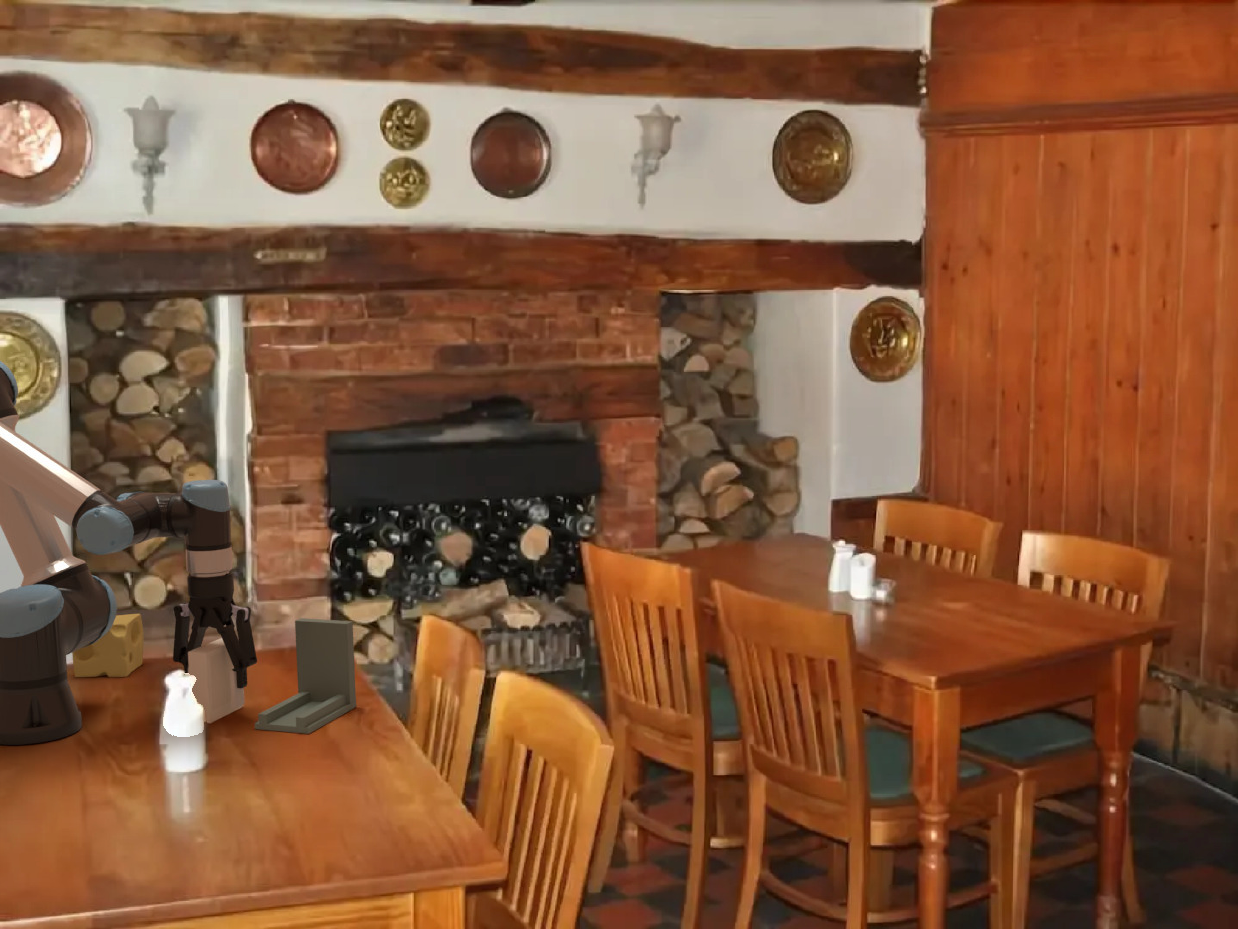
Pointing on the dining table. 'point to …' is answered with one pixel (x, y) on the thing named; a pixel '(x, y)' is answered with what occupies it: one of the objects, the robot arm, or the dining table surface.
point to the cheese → (113, 650)
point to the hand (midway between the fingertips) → (217, 704)
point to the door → (212, 679)
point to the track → (317, 678)
